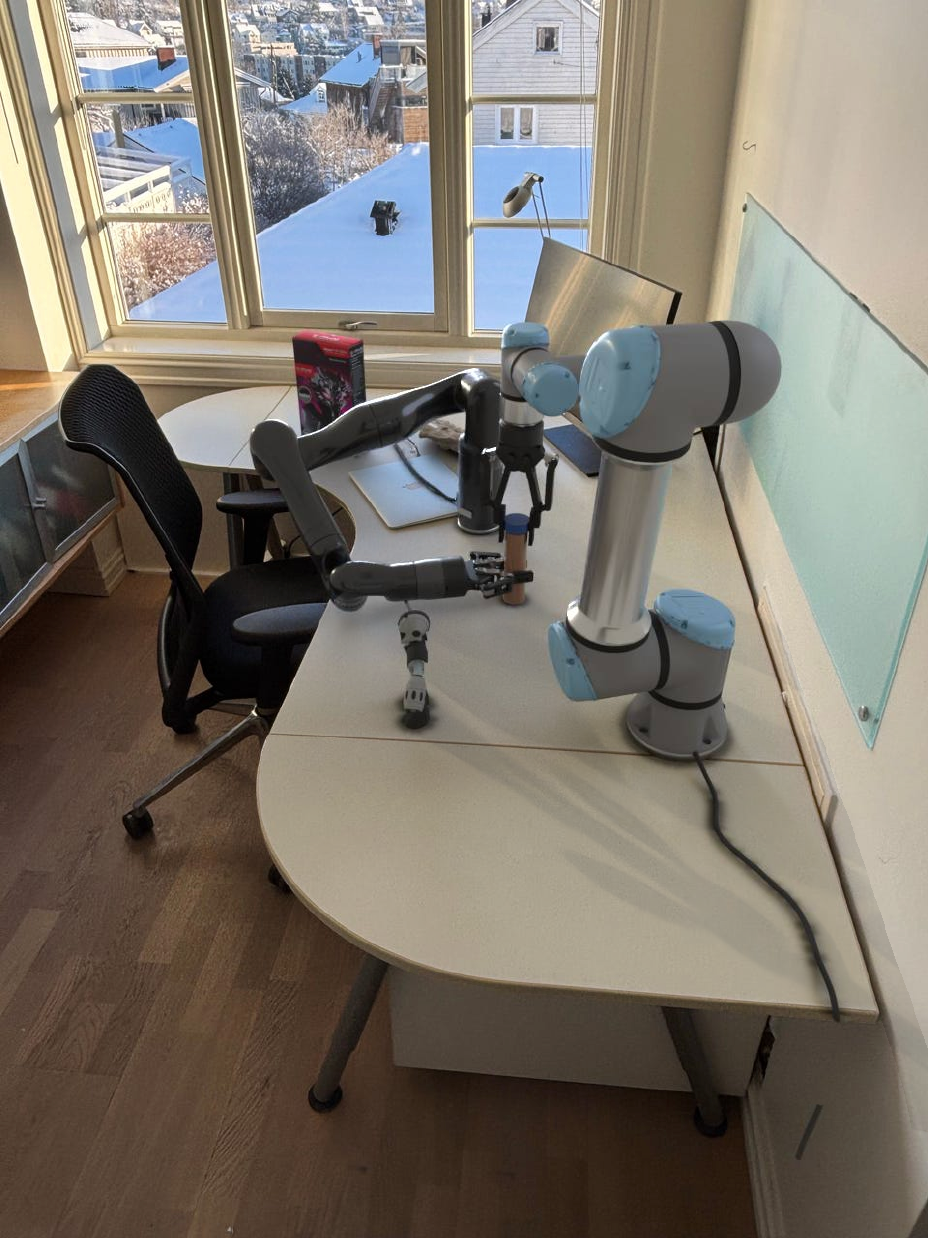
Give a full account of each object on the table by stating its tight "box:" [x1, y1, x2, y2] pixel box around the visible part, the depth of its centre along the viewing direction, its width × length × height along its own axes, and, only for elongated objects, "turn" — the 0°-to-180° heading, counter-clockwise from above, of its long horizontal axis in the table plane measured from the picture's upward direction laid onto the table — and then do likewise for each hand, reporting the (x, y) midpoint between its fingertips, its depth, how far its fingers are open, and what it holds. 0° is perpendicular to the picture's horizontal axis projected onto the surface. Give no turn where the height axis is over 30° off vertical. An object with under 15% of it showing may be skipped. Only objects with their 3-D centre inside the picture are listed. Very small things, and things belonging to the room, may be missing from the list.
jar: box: [502, 531, 529, 606], centre depth 170 cm, size 4×4×16 cm
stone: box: [418, 418, 465, 454], centre depth 230 cm, size 21×15×6 cm
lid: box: [504, 512, 530, 534], centre depth 165 cm, size 5×5×2 cm
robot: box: [396, 599, 431, 729], centre depth 141 cm, size 20×5×20 cm, turn 3°
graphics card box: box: [291, 329, 367, 436], centre depth 226 cm, size 17×7×27 cm, turn 62°
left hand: (529, 569), depth 171 cm, fingers closed on jar, 4 cm apart
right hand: (516, 540), depth 167 cm, fingers closed on lid, 5 cm apart
